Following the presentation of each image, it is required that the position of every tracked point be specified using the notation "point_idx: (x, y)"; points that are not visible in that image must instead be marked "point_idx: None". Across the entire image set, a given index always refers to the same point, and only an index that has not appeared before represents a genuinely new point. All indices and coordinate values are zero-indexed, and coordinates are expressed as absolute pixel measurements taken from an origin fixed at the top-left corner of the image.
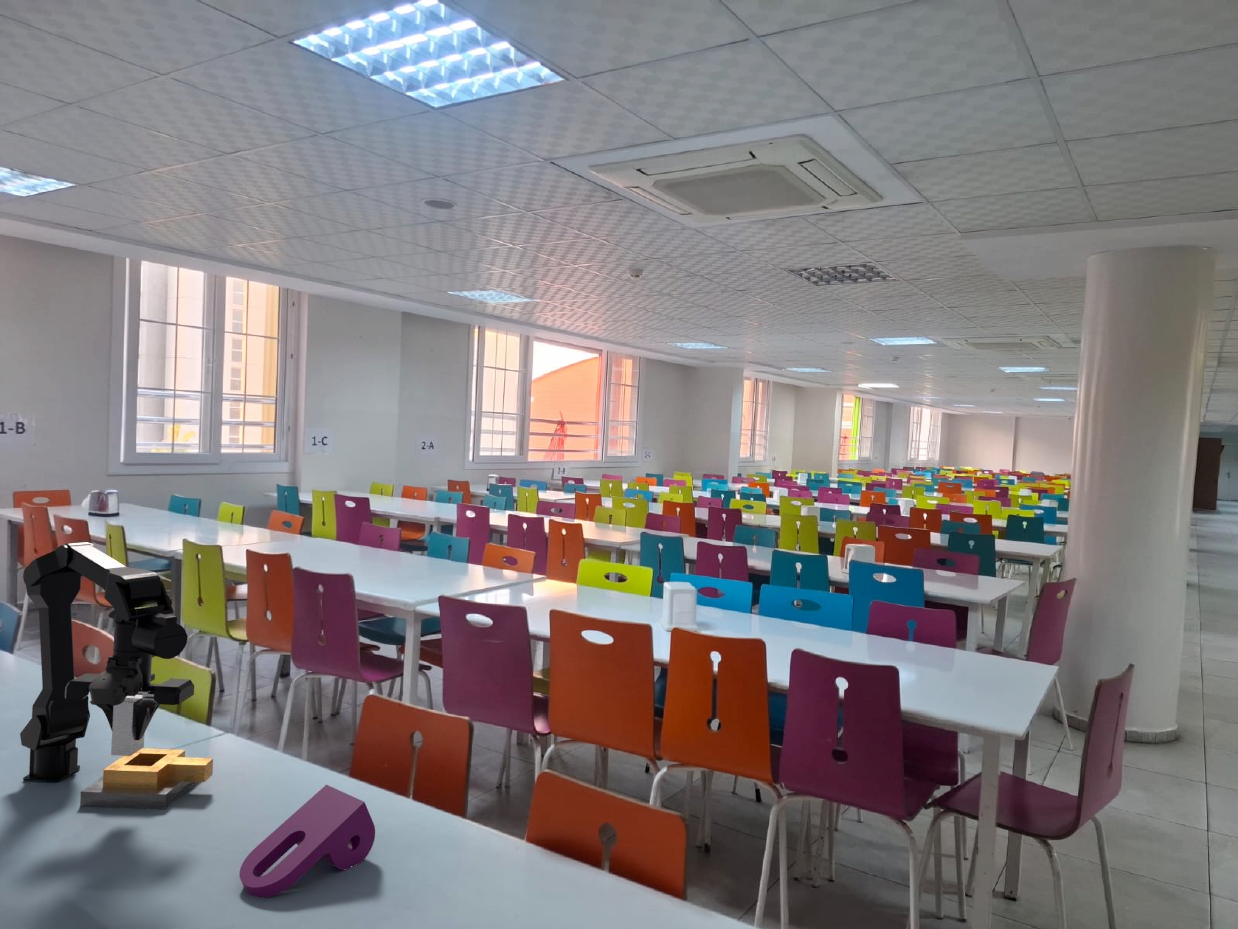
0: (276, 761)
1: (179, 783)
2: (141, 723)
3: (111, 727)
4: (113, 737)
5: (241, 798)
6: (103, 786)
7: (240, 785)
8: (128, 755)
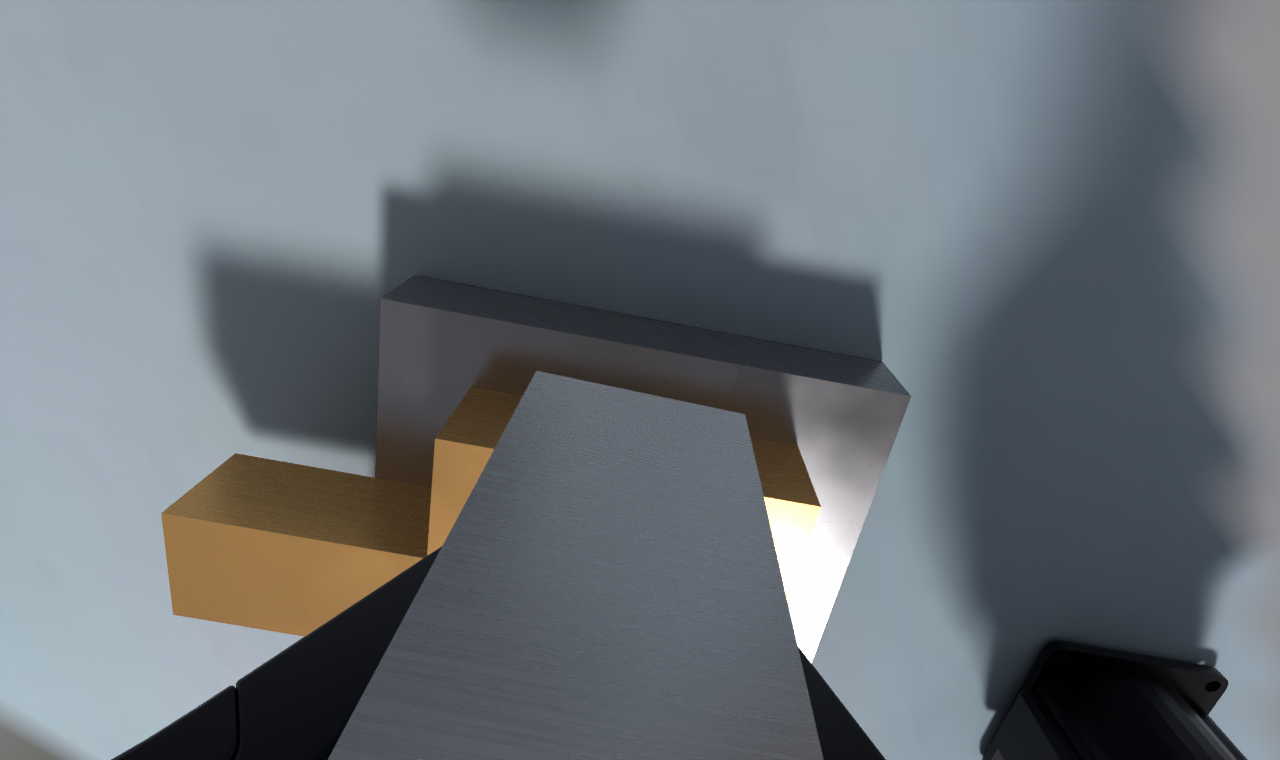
0: (133, 743)
1: (377, 458)
2: (270, 687)
3: (835, 714)
4: (749, 526)
5: (73, 371)
6: (794, 447)
7: None
8: (558, 380)
